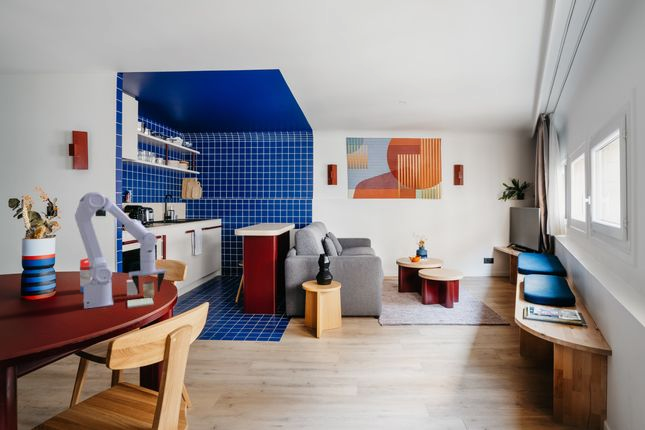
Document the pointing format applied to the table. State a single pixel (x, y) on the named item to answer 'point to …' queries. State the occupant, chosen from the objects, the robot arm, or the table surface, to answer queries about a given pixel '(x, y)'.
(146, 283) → the labelled block
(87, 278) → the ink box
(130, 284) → the grey block
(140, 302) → the sage pad
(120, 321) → the table surface
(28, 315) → the table surface
